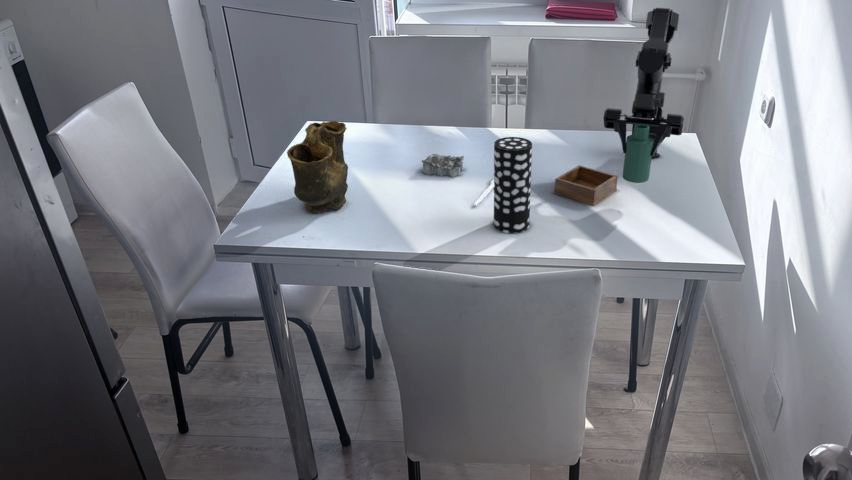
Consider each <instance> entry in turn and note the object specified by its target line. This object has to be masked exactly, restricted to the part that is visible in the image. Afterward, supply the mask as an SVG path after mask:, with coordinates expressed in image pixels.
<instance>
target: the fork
mask: <svg viewBox="0 0 852 480" xmlns="http://www.w3.org/2000/svg"><path fill="white" fill-rule="evenodd" d="M492 190H494V178H493V179H492V180H491V181H490V182H489V185H488V187H487V188H486V189H485V190H484V192H483V193H482V194H481V195H480V196H479V197H478V198H477V199H476V200H475V202H474V203H473V207H477V206H478V205H479V204H481V202H482V200H484V199H485V197H486V196H487V195H489V193H490V192H491V191H492Z"/></svg>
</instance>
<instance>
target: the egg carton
mask: <svg viewBox="0 0 852 480" xmlns="http://www.w3.org/2000/svg"><path fill="white" fill-rule="evenodd" d="M464 159H465V158H464V155H461V156H455V155H453V156H452V155H444V154H443V155H442V154H441V155H440V154H438V153H431V154H430V155H428V156H426V158H424V159H422V160H421V163H422V173H424V174H426V175H428V176H429V175H432V174H433V175H434V174H435V175H438V176H441V177H442V176H446V175H447V176H449V177H451V178H454V177H457V176H460V175H461V171H463V170H464Z"/></svg>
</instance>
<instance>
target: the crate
mask: <svg viewBox="0 0 852 480" xmlns="http://www.w3.org/2000/svg"><path fill="white" fill-rule="evenodd" d="M618 179H619V177H618V175H616V174H612V173H610V172H609V173H608V172H605V171H601V170H598V169H594V168H591V167H587V166H584V165H580V164H579V165H577V166H576V167H573V168H572V169H570V170H568V171H566V172H565V173H563V174H561V175H559V176H557V177H556V178H555V179H554V191H553V193H554V194H555V195H558V196H561V197H565V198H567V199H571V200H574V201H577V202H580V203H583V204H586V205H590V206H595V205H597V204H598V203H600V202H601V201H603V200H604V199H606V198H607V197H609V196H610V195H612V194H613V193H615V192H616V191H617V186H618Z"/></svg>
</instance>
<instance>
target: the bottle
mask: <svg viewBox="0 0 852 480" xmlns="http://www.w3.org/2000/svg"><path fill="white" fill-rule="evenodd" d="M649 128H650V127H649V126H648V125H645V124H636V125H634V131H633V135H632V134H629V135H626V150H625V154H624V158H623V167H622V168H623V169H622V179H623V180H624V181H626V182H629V183H635V184H641V183H646V182H648V181H649V180H650V172H651V165H652V159H653V158H652V156H651V154H652V148H653V143H654V139H653V138H652V137H650V136H648V135H649Z"/></svg>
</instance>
